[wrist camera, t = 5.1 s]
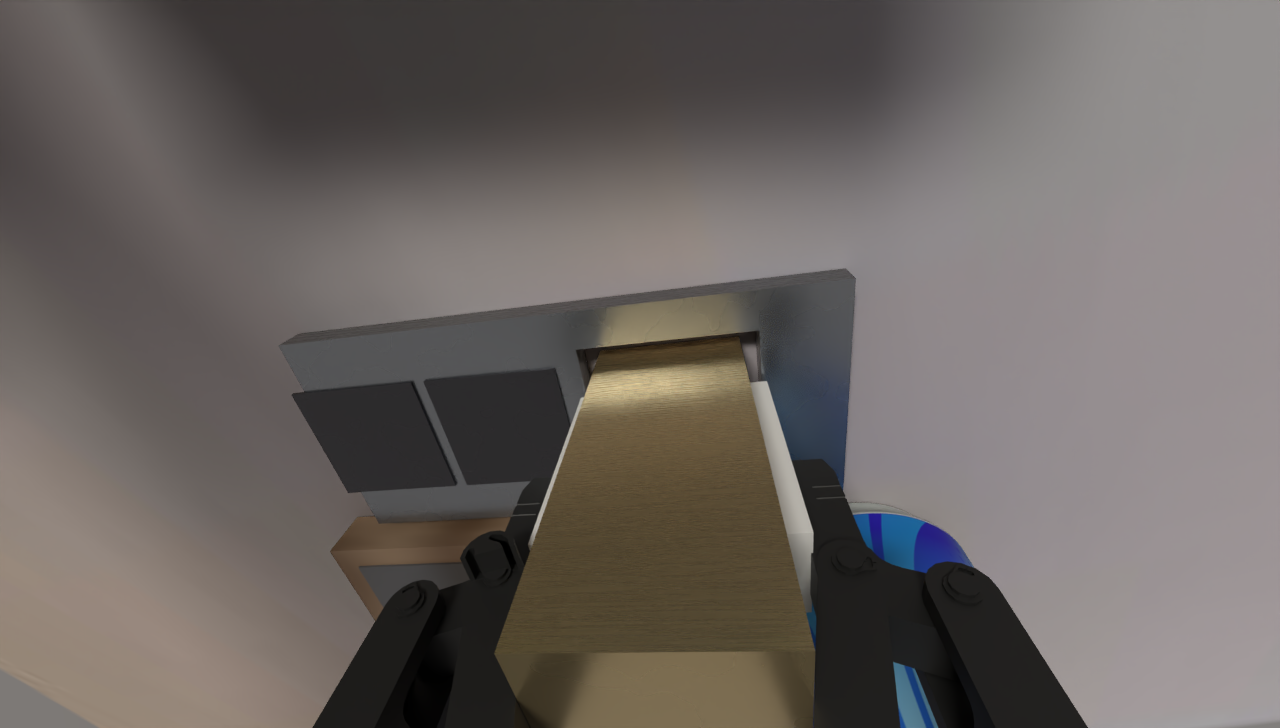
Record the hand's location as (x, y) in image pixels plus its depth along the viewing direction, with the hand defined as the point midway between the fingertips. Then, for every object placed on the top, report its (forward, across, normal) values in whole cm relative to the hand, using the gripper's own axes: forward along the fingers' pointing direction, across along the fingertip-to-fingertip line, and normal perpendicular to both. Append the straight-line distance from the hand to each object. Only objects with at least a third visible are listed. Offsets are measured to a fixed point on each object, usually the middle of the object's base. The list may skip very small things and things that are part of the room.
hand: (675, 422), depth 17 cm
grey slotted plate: (+1, -4, 0) cm, 4 cm away
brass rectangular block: (+1, 0, 0) cm, 1 cm away
